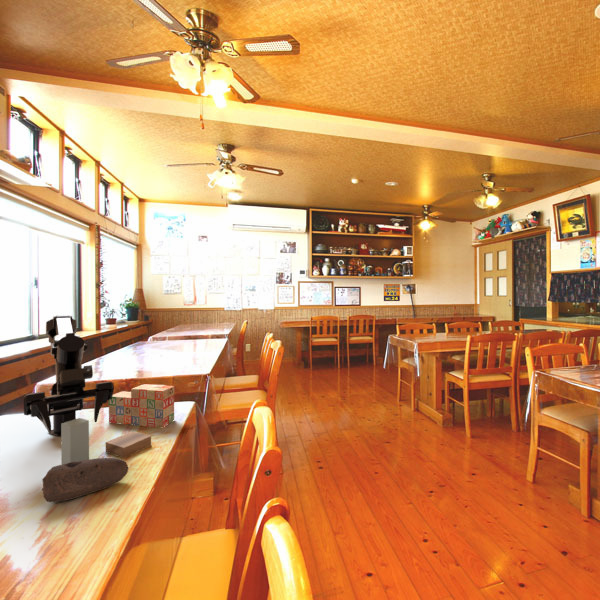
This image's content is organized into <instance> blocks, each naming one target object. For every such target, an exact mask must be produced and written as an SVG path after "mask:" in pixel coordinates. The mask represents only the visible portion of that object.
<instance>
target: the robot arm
mask: <svg viewBox="0 0 600 600" xmlns="http://www.w3.org/2000/svg"><path fill="white" fill-rule="evenodd" d="M77 325H78V324H77V320H76V319H74V318H73V315H69V314H68V315H67V314H65V315H55V316H53V317H52V318H51V319H48V320H47V321H46V323H45V335H46V336H48V343H50V356H53V359H54V361H55V362H54V363H55V383H53V385H51V386H52V387H51V389H50V395H46V393H45V391H39V392H32V393H27V394H24V395H25V396H23V415H24V416H30V417H31V418H38V420H39V421H40V422H41V423H42V424H43V426H44V427H45V429H46V430H47V433H48V432H49V434H50V433H52V434H51V435H53V434H54V436H57V437H61V423H65V422H68V421H71V420H74V419H77V418H76V416H77V415H76V413H77V411H82V410H83V409H84V401H85V399H87V398H88V399H89V398H94V406H93V407H94V408H93V421H94V423H97V422H98V419H99V418H98V417H99V414H100V411H101V408H102V407H103V404H107V402H108V400H110V399H112V396H113V395H114V391H115V387H114V382H113V381H103V382H96V384H95V388H92V389H86V390H85V387H86V380H87V379H92V378H93V377H94V373H93V372H94V371H93V365H92V364H91V365H84V366H82V360H83V357H84V353H85V352H86V350H88V344H87V343H85V340H84V339H83V338H82V337H80V334H77V331H78V329H77ZM50 417H53V419H52V420H53V421H52V422H53V425H52V422H51V418H50ZM52 426H53V427H52Z"/></svg>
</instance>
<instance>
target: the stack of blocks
mask: <svg viewBox="0 0 600 600" xmlns="http://www.w3.org/2000/svg"><path fill="white" fill-rule="evenodd" d="M107 402H108V423H109V424H117V423H121V424H120V425H126V424H133V425H132V426H138V425H143V426H142V427H149V426H151V427H152V428H160V427H163V428H165V427H166V426H168V425H170V424H171V423H172V421H173V420H174V421H175V386H174V385H166V384H150V383H149V384H148V383H147V384H145V383H144V384H141V385H138V386H136V387H133V388H131V389H130V391H124V390H123V391H119V392H117V393H113V396H112V399H110V400H107ZM174 421H173V422H174ZM110 422H111V423H110ZM170 422H171V423H170ZM169 423H170V424H169ZM134 424H135V425H134ZM167 424H168V425H167ZM164 426H165V427H164ZM151 427H150V428H151Z"/></svg>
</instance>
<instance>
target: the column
mask: <svg viewBox="0 0 600 600" xmlns="http://www.w3.org/2000/svg"><path fill="white" fill-rule="evenodd" d="M89 422H90V421H89V419H85V418H81V417H78V418H76V419H74V420H71V421H68V422H65V423H61V436H60V439H61V442H60V443H61V446H60V447H61V448H60V449H61V450H60V451H61V453H60V455H61V459H60V460H61V464H60V465H63V464H67V463H71V462H77V461H82V460H89V459H90V423H89Z"/></svg>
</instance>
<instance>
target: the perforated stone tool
mask: <svg viewBox="0 0 600 600" xmlns="http://www.w3.org/2000/svg"><path fill="white" fill-rule="evenodd" d="M128 470H129V466H128V463H127V461H125V460H124V459H121V458H116V457H98V458H92V459H91V458H89V460H82V461H77V462H71V463H67V464H63V465H61V464H59V465H55V466H52V467H51V468H50V469H49V470H48V471H47V472H46V474H45V476H44V477H43V478H41V479H42V480H41V481H42V486H43V487H42V489H41V491H42V495H43V498H44V500H45V501H46V502H48V503H55V502H56V503H57V502H63V501H69V500H73V499H76V498H79V497H82V496H85V495H89V494H92V493H96V492H99V491H101V490H103V489H104V490H105V489H106V488H109V487H111V486H113V485H115V484H117V483H119V482H121V480H123V479H124V478H125V476H126V475H127V473H128V472H129V471H128Z"/></svg>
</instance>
